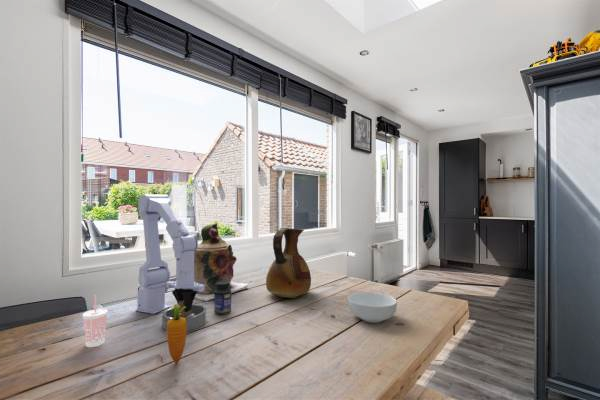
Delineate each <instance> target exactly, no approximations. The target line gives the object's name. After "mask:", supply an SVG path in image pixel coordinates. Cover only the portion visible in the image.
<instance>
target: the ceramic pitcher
mask: <svg viewBox="0 0 600 400" xmlns="http://www.w3.org/2000/svg"><path fill="white" fill-rule="evenodd" d="M304 231H305V229H300V228H299V229H298V228H291V227H280V228H279V229H278V230H277V231H276V232H275V233H274V235H273V237H272V238H273V239H272V246H273V247H272V249H273V252H274V253H273V254H274V257H275V259H274V260H273V262H272V264H271V265H270V267H269V269H268V272H267V274H266V280H265V286H266V287H265V288H266V290H267V291H268V292H269V293H271V294H274V295H276V296H277V297H282V298H290V299H291V298H293V299H294V298H298V296H301V295H305V294H306V293H307V294H308V292H309V291H310V290H311V284H312V275H311V272H310V268H309V266H308V263H307V262H306V261H307V260H305V258H304V257H303V256H302V255H301V254H300V252H299V249H298V243H299V237H300V235H301V234H302V233H303V232H304ZM283 237H284V242H285V243H284V249H283Z"/></svg>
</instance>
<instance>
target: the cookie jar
mask: <svg viewBox="0 0 600 400" xmlns="http://www.w3.org/2000/svg"><path fill="white" fill-rule="evenodd" d="M218 223H219V222H218V221H214V223H211V224H207V225H204V226H203V227H202V228H201V230H200V231H201V232H200V236H201V239H202V241H201V242H200V243H198V247H197V249H196V250H195V251H194V282H196V283H199V284H202V285H204V291H202V292H197V294H196V296H195V298H194V299H198V300H201V301H202V302H203V301H205V302H208V301H211V300H213V299H214V291H215V290H216V289H217V287H216V283H217V282H220V281H228V282H229V288H230V289H231V294H232V293H236V292H239V291H242V290H246V289H247V288H248V286H249V283H242V282H241V283H239V282H235V281H232V280H233V278H234V265H235V263H236V262H237V257H236V256H234V251H233V247H232V245H231V244H229V243H227V241H226V240H224V239H222V237H221V236H220V234H219V228H218Z"/></svg>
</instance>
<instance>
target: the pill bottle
mask: <svg viewBox="0 0 600 400" xmlns="http://www.w3.org/2000/svg"><path fill="white" fill-rule="evenodd" d="M216 287H217V289H216V290H215V291H214V300H213V302H214V303H213V306H214V307H213V309H214V310H213V312H214V314H216V315H220V316H223V315H228V314H230V312H231V311H232V293H231V289H230V288H229V282H228V281H220V282H217V283H216Z"/></svg>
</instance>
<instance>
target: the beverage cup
mask: <svg viewBox="0 0 600 400" xmlns="http://www.w3.org/2000/svg"><path fill="white" fill-rule="evenodd" d="M97 297H98V296H97V295H96V294H94V309H91V310H88V311H85V312H84V313H83V314H82V319H83V326H84V341H85V342H84V343H85V347H87V348H94V347H98V346H102V345H103V344H105V342H106V330H107V318H108V317H107V316H108V313H109V310H108V309H106V308H98V307H97V305H98V303H97V302H98V301H97V300H98V299H97Z"/></svg>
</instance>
